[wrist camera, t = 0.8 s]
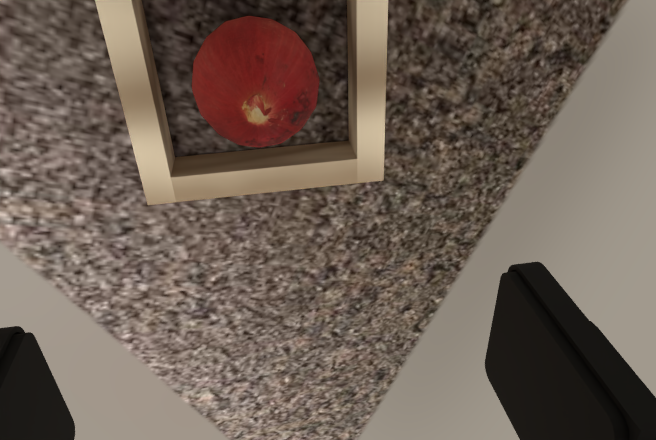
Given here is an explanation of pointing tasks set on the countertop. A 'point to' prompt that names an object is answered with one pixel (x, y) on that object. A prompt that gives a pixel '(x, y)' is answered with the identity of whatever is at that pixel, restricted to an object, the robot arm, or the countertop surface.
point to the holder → (259, 164)
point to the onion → (255, 81)
